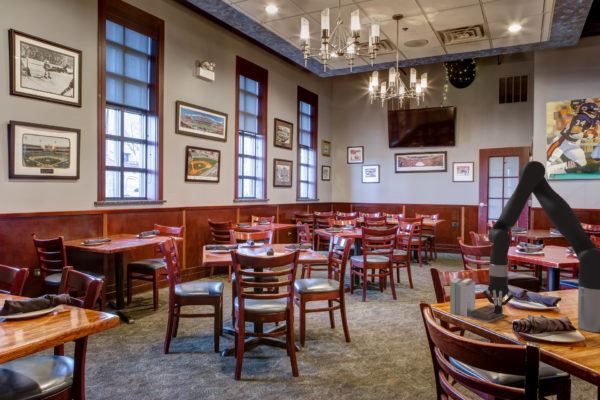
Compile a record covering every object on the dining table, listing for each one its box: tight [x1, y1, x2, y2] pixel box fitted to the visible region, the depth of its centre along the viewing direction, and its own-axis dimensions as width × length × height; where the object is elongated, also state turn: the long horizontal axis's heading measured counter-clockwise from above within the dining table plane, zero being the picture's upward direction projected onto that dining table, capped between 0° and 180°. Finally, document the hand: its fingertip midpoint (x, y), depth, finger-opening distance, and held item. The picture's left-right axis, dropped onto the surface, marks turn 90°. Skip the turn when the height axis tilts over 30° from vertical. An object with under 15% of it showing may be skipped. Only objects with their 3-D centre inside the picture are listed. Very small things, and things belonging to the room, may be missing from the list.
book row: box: [449, 278, 473, 317], centre depth 192 cm, size 7×10×15 cm
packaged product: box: [465, 304, 508, 324], centre depth 186 cm, size 18×5×10 cm
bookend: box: [450, 280, 476, 318], centre depth 192 cm, size 8×14×14 cm, turn 143°
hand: (498, 313), depth 182 cm, fingers closed
